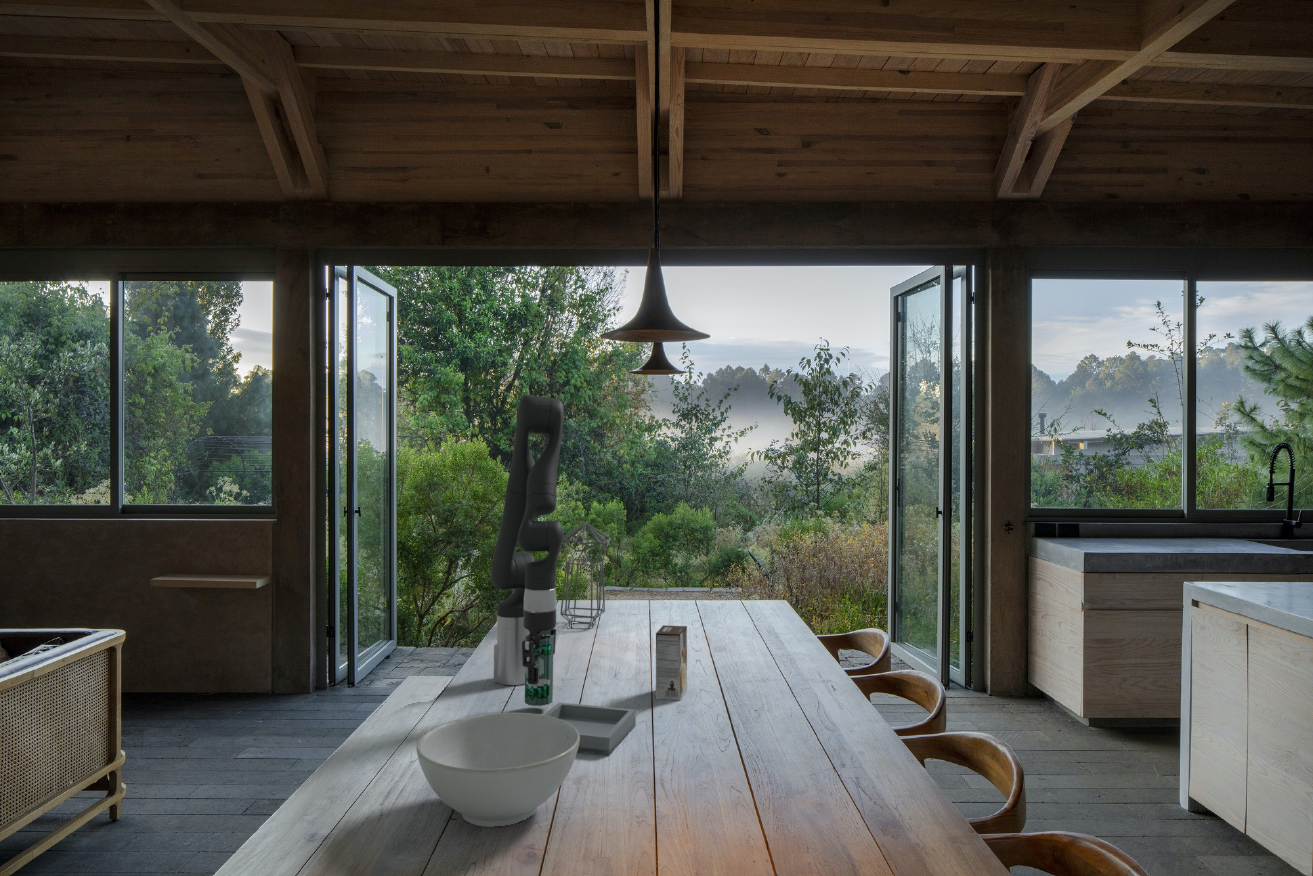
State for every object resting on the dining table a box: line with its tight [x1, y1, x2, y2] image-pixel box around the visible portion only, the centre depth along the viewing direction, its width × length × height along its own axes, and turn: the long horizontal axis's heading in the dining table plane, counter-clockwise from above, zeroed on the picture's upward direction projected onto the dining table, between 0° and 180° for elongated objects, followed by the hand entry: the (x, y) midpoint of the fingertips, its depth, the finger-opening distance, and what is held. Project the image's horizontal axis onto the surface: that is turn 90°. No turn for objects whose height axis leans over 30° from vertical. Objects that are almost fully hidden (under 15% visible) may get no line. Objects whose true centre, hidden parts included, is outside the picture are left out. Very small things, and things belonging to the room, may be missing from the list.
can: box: [524, 634, 554, 707], centre depth 189 cm, size 6×6×15 cm
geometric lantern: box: [559, 522, 612, 628], centre depth 278 cm, size 16×16×35 cm
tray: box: [543, 702, 637, 756], centre depth 173 cm, size 18×18×4 cm
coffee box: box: [655, 625, 688, 701], centre depth 202 cm, size 9×6×16 cm
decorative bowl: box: [416, 712, 580, 828], centre depth 137 cm, size 27×27×12 cm
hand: (538, 679), depth 189 cm, fingers closed on can, 6 cm apart
